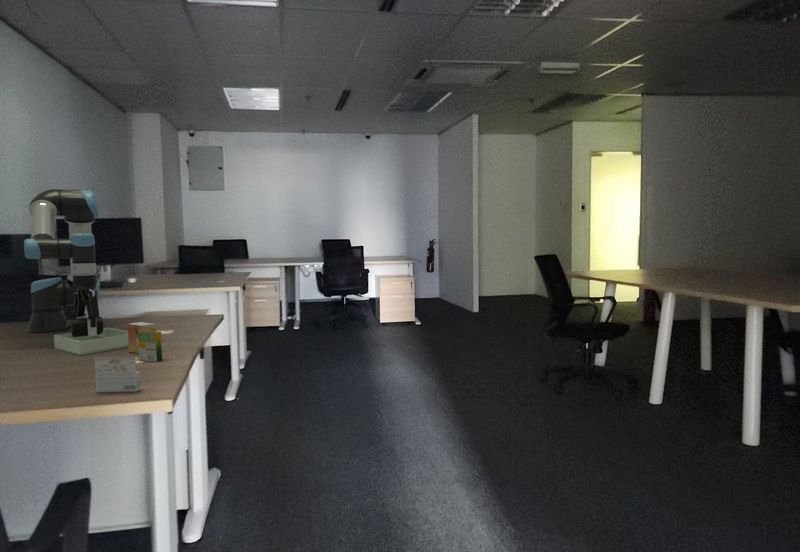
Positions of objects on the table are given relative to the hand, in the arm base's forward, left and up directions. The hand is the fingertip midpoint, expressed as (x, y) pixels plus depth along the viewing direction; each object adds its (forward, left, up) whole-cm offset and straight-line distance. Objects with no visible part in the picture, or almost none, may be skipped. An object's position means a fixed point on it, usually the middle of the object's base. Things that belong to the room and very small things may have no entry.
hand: (87, 334), depth 196 cm
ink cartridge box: (+66, -20, -6) cm, 69 cm away
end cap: (0, 0, -1) cm, 1 cm away
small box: (+23, +9, -5) cm, 25 cm away
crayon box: (+38, +4, -5) cm, 38 cm away
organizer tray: (0, +3, -5) cm, 6 cm away
